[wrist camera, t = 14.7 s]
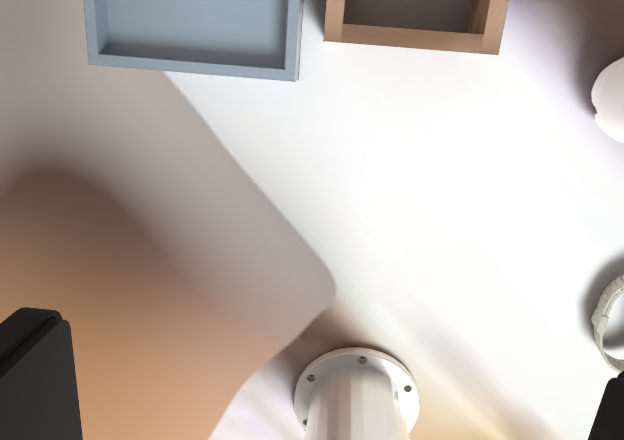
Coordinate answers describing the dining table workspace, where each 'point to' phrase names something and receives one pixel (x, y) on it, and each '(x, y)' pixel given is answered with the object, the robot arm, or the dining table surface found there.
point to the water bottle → (610, 100)
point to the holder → (477, 39)
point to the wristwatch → (601, 318)
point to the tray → (197, 36)
